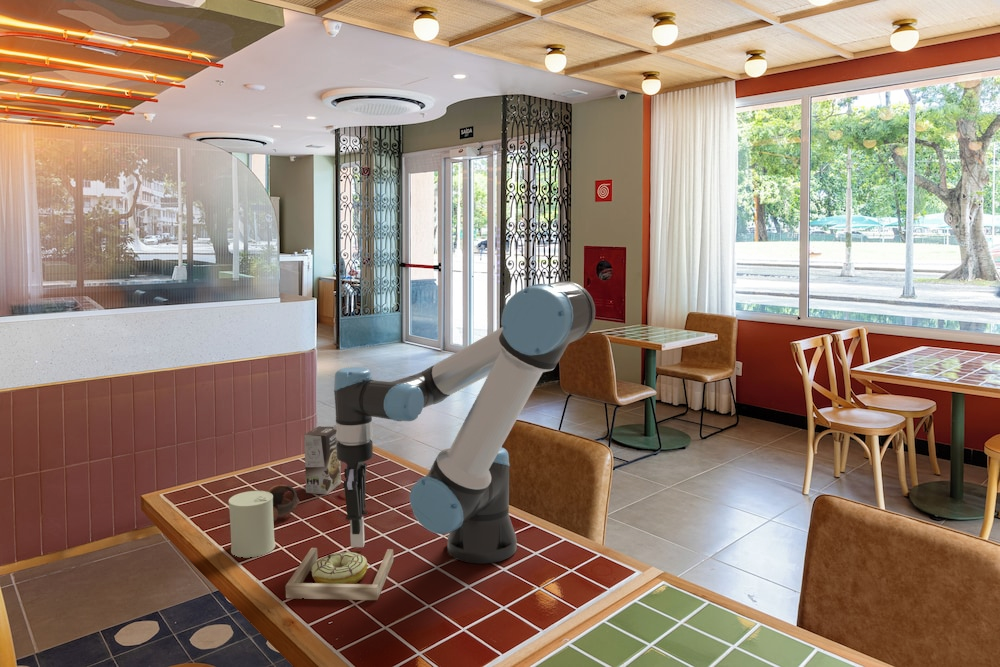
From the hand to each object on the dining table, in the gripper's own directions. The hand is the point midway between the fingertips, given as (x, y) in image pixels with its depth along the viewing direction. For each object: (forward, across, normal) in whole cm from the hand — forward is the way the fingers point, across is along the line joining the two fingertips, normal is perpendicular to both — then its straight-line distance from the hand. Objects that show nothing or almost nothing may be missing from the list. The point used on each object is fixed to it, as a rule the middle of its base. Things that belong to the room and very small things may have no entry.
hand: (357, 545), depth 153 cm
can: (+1, -1, -23) cm, 23 cm away
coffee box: (+1, -38, -17) cm, 41 cm away
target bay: (+1, +12, 0) cm, 12 cm away
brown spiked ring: (+1, -20, -24) cm, 32 cm away
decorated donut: (+2, +12, -1) cm, 12 cm away
